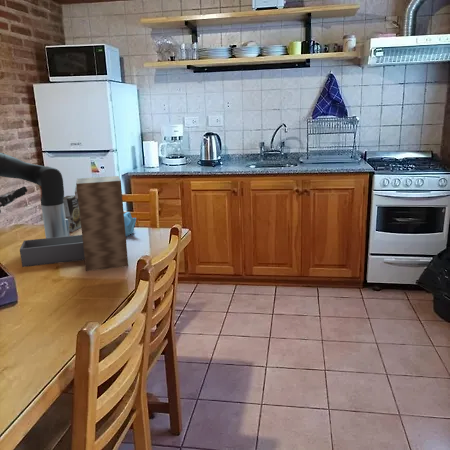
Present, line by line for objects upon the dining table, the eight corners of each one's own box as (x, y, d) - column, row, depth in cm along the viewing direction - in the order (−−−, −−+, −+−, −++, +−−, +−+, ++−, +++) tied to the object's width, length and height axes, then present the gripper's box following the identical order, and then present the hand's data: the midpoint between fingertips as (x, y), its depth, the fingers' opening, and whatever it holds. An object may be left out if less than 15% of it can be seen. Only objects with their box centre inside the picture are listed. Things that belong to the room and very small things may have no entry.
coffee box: (73, 231, 210) (69, 199, 206) (61, 231, 212) (56, 198, 208) (82, 226, 219) (79, 195, 215) (71, 226, 220) (67, 195, 216)
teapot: (138, 236, 200) (136, 213, 197) (104, 241, 195) (102, 217, 192) (132, 228, 214) (131, 207, 211) (101, 232, 209) (99, 210, 206)
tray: (22, 267, 164) (19, 249, 163) (26, 257, 176) (23, 240, 174) (107, 257, 173) (105, 240, 171) (106, 248, 184) (104, 232, 182)
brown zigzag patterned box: (83, 271, 158) (73, 183, 150) (84, 260, 170) (74, 178, 161) (128, 265, 163) (120, 180, 155) (125, 255, 174) (118, 175, 166)
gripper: (-27, 203, 153) (18, 182, 156) (-20, 198, 166) (21, 179, 170) (-15, 222, 155) (29, 201, 159) (-8, 215, 168) (32, 196, 172)
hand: (25, 189), depth 164 cm, fingers open, 8 cm apart
